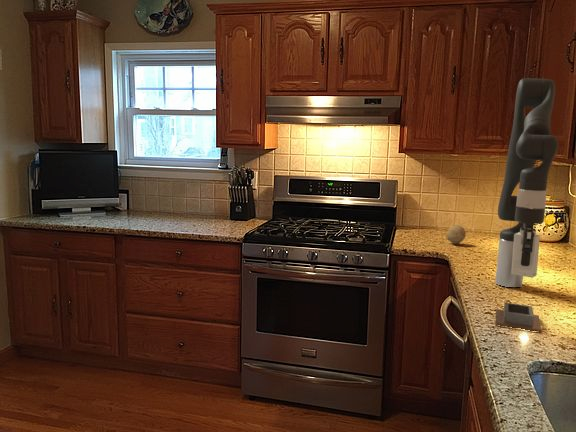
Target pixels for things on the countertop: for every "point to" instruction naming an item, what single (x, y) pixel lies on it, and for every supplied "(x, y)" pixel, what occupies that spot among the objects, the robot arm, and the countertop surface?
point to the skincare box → (517, 254)
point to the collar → (518, 317)
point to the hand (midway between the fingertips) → (524, 263)
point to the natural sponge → (456, 234)
